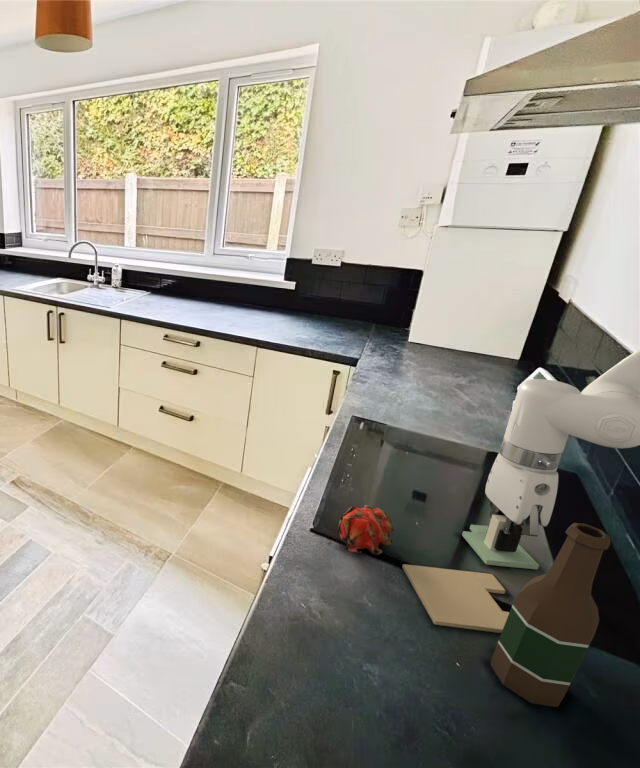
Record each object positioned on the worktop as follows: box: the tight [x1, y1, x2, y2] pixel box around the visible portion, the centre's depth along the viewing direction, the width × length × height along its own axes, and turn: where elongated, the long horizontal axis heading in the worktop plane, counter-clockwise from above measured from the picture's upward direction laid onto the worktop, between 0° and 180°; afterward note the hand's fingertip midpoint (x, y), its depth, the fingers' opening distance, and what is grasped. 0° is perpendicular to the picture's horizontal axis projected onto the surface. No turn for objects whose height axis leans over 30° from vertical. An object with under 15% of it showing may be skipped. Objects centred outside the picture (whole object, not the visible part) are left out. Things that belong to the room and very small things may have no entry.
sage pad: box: [461, 515, 540, 570], centre depth 82 cm, size 10×8×7 cm
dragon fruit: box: [337, 504, 395, 556], centre depth 83 cm, size 8×8×12 cm
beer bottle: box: [489, 522, 611, 708], centre depth 56 cm, size 8×8×24 cm
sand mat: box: [401, 563, 510, 634], centre depth 72 cm, size 14×12×1 cm
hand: (500, 544), depth 82 cm, fingers closed on sage pad
